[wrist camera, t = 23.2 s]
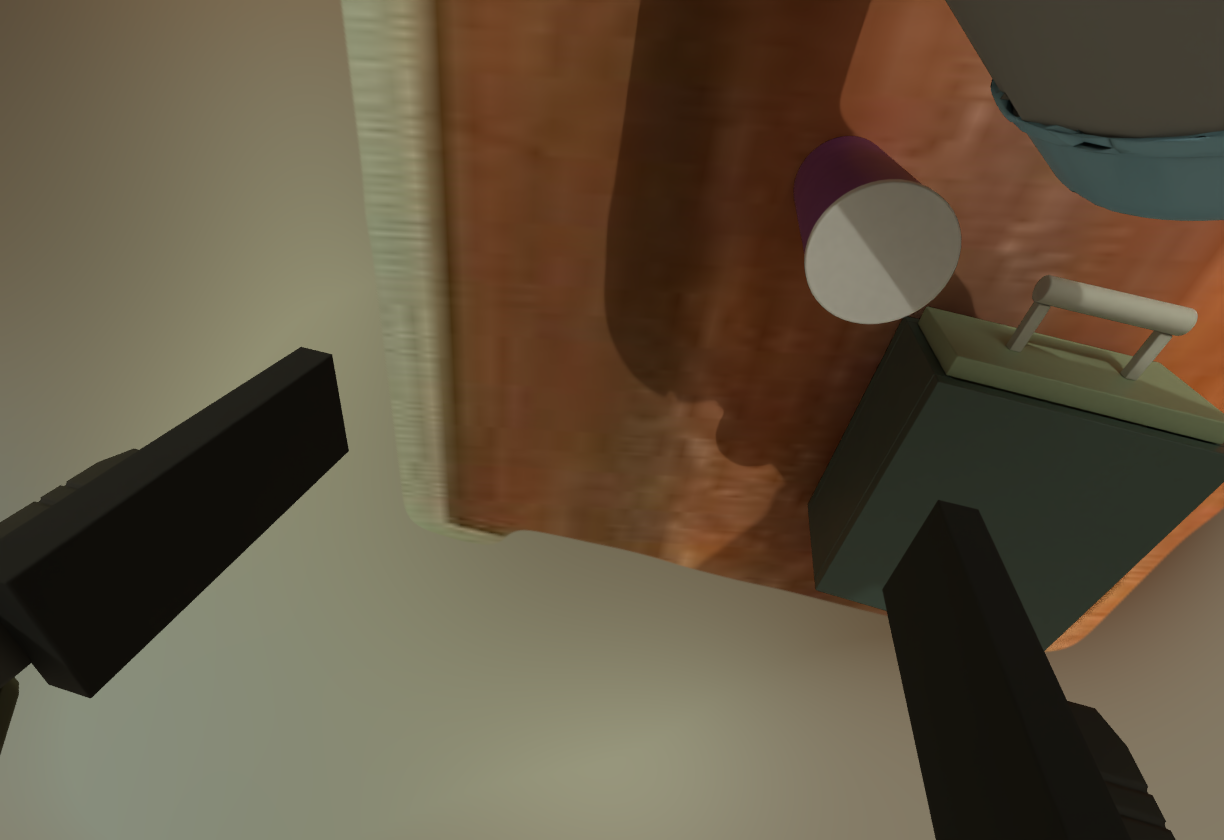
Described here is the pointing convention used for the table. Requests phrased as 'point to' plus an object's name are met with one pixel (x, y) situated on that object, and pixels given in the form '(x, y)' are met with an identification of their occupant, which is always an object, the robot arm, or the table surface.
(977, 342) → the drawer
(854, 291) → the snack tube
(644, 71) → the table surface
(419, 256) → the table surface
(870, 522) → the cabinet
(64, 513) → the robot arm
